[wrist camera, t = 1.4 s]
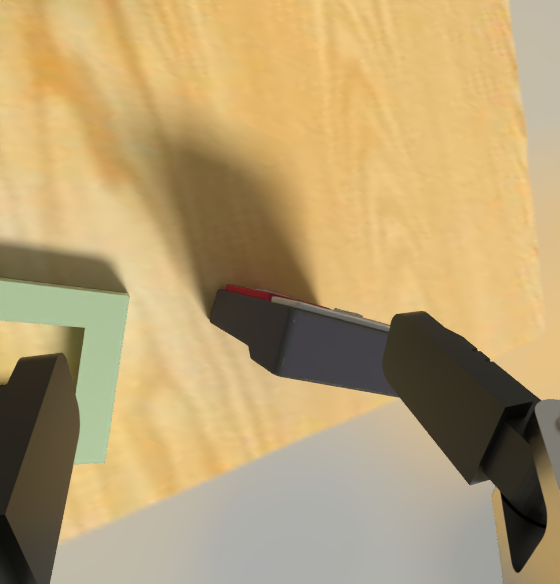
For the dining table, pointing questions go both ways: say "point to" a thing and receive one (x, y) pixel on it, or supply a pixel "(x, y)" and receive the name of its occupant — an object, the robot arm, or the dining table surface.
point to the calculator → (305, 339)
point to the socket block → (95, 351)
